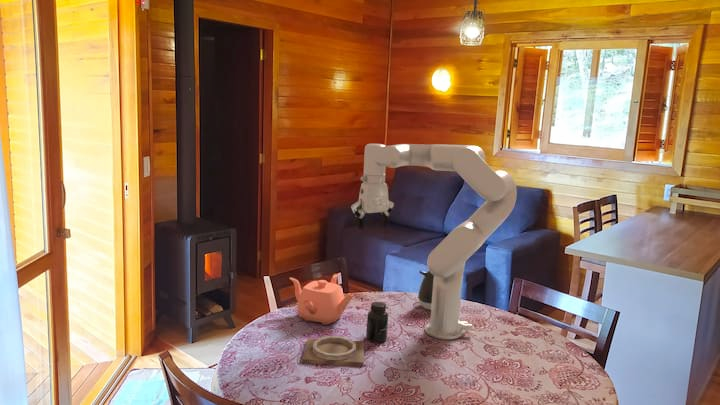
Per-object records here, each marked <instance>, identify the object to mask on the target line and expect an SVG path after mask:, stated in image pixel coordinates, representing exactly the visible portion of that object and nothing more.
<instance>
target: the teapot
mask: <svg viewBox="0 0 720 405" xmlns="http://www.w3.org/2000/svg"><path fill="white" fill-rule="evenodd" d="M338 277H339V275H338V273H334V274H333V275H332V277H331V280H330V281H329V282H328V281H327V280H325V279H319V280H313V281H310V282H309V283H307V284H306V285H304V286H303V287H302V288H301V284H300V281H299V280H298V279H296V278H294V277H289V280H291V282H292V283H293V285H294V291H295V292H294V293H295V299H296V301H297V314H298V315H299V317H300V318H301V319H304V321H306V322H315V323H321V325H324V326H327V325H330V324H332V323H334V322H336V321H337V320H339V318H341V317H342V316H343V314H344V312H345V309H346V308H347V307H348V305H349V303H351V302H350V301H351V300H352V299H353V297H354V294H352V293H351V292H349V293H348V292H347V295H345V294H344V292H343V288H342V285H340V284H337V278H338Z"/></svg>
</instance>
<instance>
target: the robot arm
mask: <svg viewBox="0 0 720 405" xmlns="http://www.w3.org/2000/svg"><path fill="white" fill-rule="evenodd" d="M363 155H364V158H363V161H364V162H363V174H362V176H360V181H361V182H362V183H361V184H360V189H359V196H358V200H357V201H356V202H355V203H353V204H352V205H351V206H350V208H351V211H352V213H353V215H355V217H356V228H357V229H359V230H364V227H365V225H364V223H365V218H363V217H364V216H365V214H374V213H381V214H380V217H379V218H380V219H379V226H381V227H383V228H387V224H388V217H389V216H390V213H392V211H393V209H394V208H393V207H394V206H395V203H394V202H393V201H391V200H389V190H388V184H387V183H386V170H387V169H386V167H387V168H391V169H395V168H400V167H405V166H409V167H410V166H412V167H413V166H415V167H416V166H417V167H426V168H429V169H431V170H432V171H433V170H434V171H437V172H438V171H439V172H440V171H441V172H442V171H443V172H456V173H457V174H458V175H459V176H460V177H461V178H462V179H463V180H464V181H465V182H466V183H467V184H468V185H469V186H470V187H471V189H473V191H474V192H476V193H477V195H478V196H480V197H481V198H482V199H483V200H485V201H484V202H483V203H482V204H481V205H480V206H479V208H477V209H476V211H475V212H474V213H473V214H472V215H471V216H470V217H469V218H468V219H466V220H465V221H464V222H462V223H460V224H459V225H457V226H456V227H455V228H453V229H452V231H450V232H449V233H448V235H447V236H446V237H445V238H444V239H442V240H441V242H440V243H438V245H436V247H434V249H432V250H431V251H430V253H429V254H428V257H427V261H426V263H427V264H426V266H427V268H428V271H430V272H431V273H432V274H433V275H434V280H433V291H432V304H431V310H430V320H429V321H430V322H428V323H427V324H425V327H424V331H425V333H426V334H427V335H429V336H431V337H432V338H435V339H439V340H456V339H459V338H460V337H462V335H463V331H464V330H467V331H473V324H472V323H468V321H461V320H460V309H461V298H462V296H461V295H462V286H463V278H464V270H465V265H466V261H467V260H469V259H470V258H471V257H472V256H473V255H474V254H475V252H477V251H478V250H479V249H480V248H481V247H482V245H483V244H484V243H485V242H486V241H487V239H488V238H489V237H490V236H491V235H492V234H493V233H494V232H495V231H497V229H498V228H499V227H500V226H501V225H502V224H503V223H504V222H505V221H506V219H507V218H508V217H509V216H510V214H511V213H512V211H513V210H514V208H515V205H516V202H517V194H518V191H517V185H516V182H515V180H514V178H513V177H512V175H511V174H510V173H509V172H506V171H505V170H494V169H493V168H492V167H491V166H490V165H489V164H488V163H487V162H486V154H485V152H484V150H483V149H482V147H479V146H478V145H470V144H442V143H441V144H437V143H436V144H433V143H432V144H418V143H417V144H416V143H415V144H413V143H400V144H399V143H398V144H392V145H386V144H382V143H368V144H366V145H365V147H364V154H363Z"/></svg>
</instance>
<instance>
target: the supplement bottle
mask: <svg viewBox="0 0 720 405" xmlns="http://www.w3.org/2000/svg"><path fill="white" fill-rule="evenodd" d="M366 316H367V317H366V318H367V319H366V332H365V338H366V339H367V341H369V342H371V343H376V344H379V343H380V344H381V343H384V342H386V340H387V338H388V325H389V313H388V312H387V304H386V303H385V302H382V301H374V302H371V305H370V310H369V311H368V312H367V315H366Z"/></svg>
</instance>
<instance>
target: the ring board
mask: <svg viewBox="0 0 720 405" xmlns="http://www.w3.org/2000/svg"><path fill="white" fill-rule="evenodd" d="M305 343H306V344H305V347H304V350H303V355H302V358H301V363H302V364H313V365H314V364H315V365H331V366H332V365H335V366H337V365H338V366H351V367H352V366H353V367H356V366H357V367H364V362H365V360H364V358H365V356H364V355H365V341H361V340H352V339H351V338H348V337H344V336H337V335H328V336H327V335H326V336H323V337H320V338H309V337H308V338H307V340H306V342H305Z"/></svg>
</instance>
